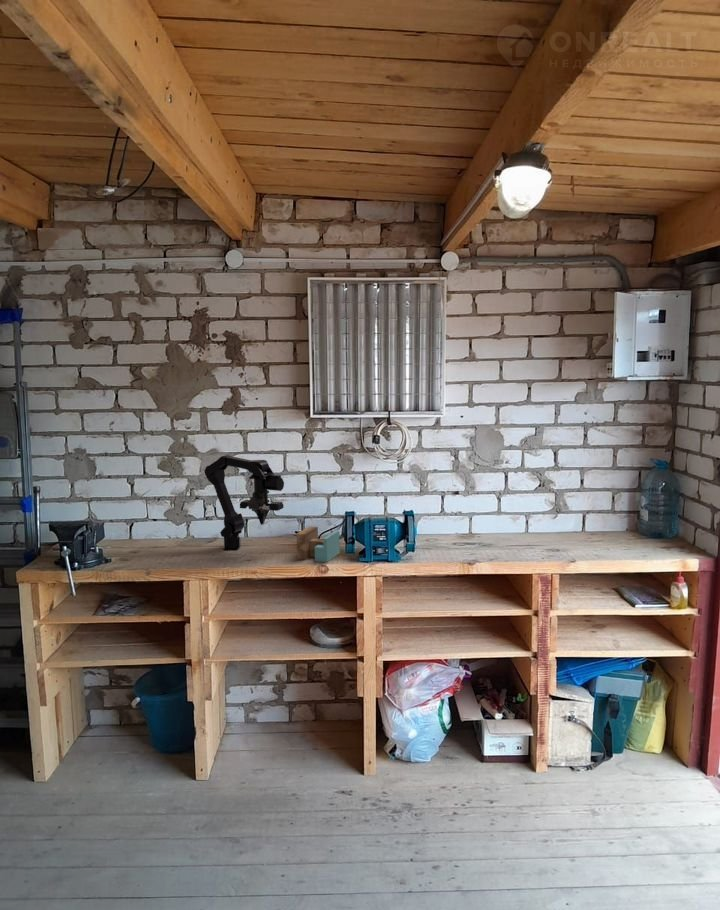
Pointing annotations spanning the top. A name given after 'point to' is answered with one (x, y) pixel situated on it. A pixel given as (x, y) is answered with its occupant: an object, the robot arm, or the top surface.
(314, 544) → the walnut t block
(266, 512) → the robot arm
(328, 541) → the teal block
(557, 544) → the top surface
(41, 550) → the top surface
